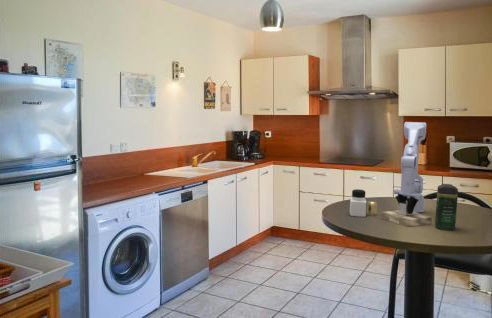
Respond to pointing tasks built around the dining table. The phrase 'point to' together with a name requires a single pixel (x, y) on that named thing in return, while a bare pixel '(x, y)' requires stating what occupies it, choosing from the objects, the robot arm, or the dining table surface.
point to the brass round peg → (372, 208)
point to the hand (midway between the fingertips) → (406, 212)
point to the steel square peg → (404, 209)
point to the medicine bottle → (358, 203)
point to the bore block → (406, 218)
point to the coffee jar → (446, 207)
